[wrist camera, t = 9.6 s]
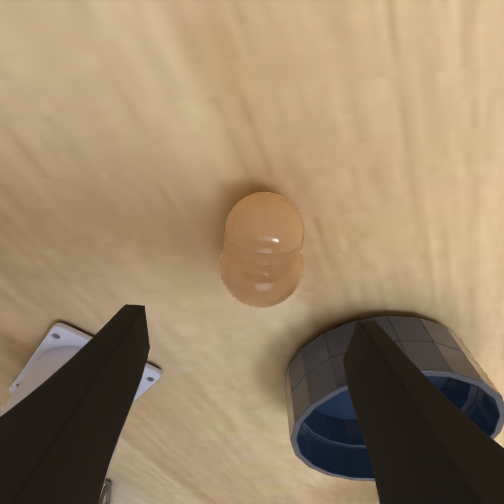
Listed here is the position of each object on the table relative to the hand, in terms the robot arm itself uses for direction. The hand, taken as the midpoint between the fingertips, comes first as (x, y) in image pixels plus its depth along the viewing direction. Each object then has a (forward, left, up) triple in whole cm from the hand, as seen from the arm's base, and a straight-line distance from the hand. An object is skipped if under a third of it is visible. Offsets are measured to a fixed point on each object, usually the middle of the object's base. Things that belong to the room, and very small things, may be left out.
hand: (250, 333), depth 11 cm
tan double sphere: (0, 0, -7) cm, 7 cm away
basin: (-3, -15, -7) cm, 17 cm away
